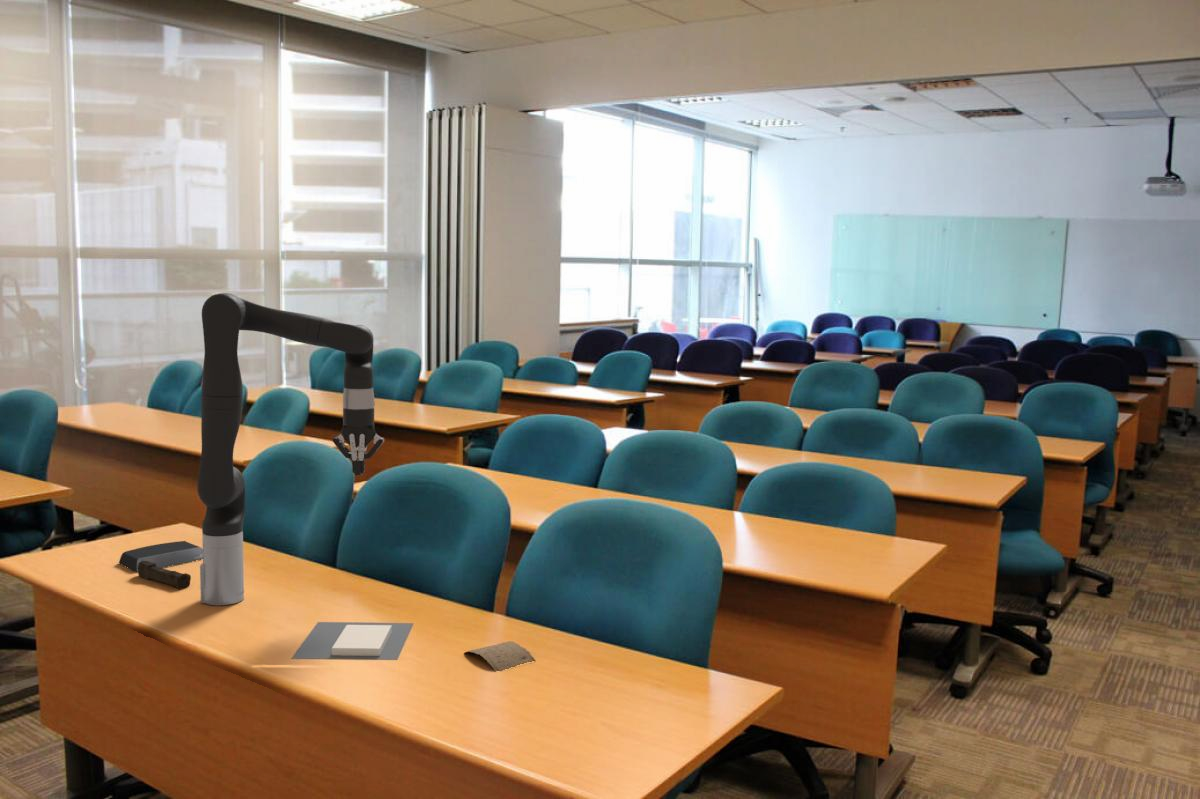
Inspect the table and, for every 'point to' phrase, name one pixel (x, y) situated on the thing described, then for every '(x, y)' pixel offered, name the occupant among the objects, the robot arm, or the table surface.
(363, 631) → the tile
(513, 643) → the clay tablet
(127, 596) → the table surface
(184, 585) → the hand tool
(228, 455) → the robot arm
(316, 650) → the mat
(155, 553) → the external hard drive
